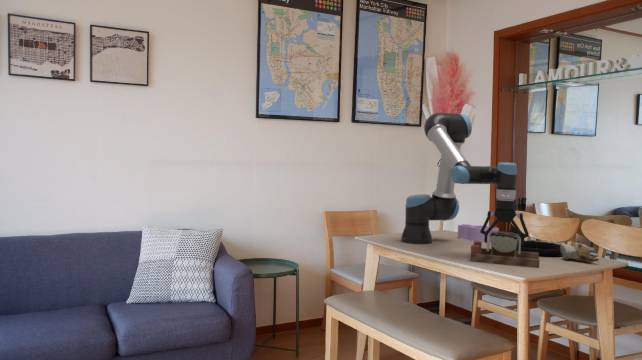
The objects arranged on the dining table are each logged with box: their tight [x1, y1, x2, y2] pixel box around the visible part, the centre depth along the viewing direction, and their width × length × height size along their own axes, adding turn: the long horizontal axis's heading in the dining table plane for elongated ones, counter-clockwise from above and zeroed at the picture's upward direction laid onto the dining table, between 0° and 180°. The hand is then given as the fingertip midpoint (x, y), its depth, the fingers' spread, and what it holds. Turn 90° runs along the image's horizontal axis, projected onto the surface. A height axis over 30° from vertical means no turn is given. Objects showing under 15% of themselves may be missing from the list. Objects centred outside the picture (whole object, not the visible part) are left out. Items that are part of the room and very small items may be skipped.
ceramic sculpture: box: [559, 240, 600, 263], centre depth 219 cm, size 11×9×15 cm
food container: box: [489, 231, 520, 257], centre depth 215 cm, size 12×6×10 cm, turn 49°
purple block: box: [457, 223, 500, 243], centre depth 273 cm, size 20×12×7 cm, turn 48°
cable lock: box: [516, 239, 563, 258], centre depth 239 cm, size 28×4×30 cm
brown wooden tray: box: [469, 241, 540, 268], centre depth 215 cm, size 26×17×6 cm
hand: (503, 252), depth 216 cm, fingers closed on food container, 12 cm apart
